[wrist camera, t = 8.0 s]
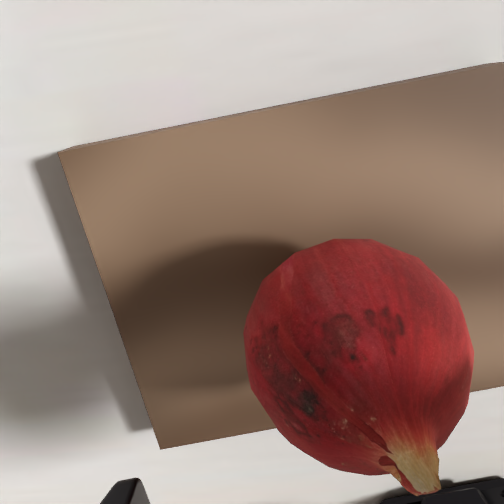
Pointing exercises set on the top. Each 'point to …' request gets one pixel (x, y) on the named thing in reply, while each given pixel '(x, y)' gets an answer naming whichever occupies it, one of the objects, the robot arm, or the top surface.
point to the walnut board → (288, 226)
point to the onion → (361, 359)
